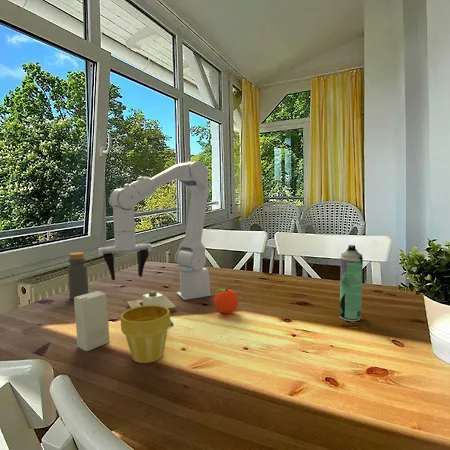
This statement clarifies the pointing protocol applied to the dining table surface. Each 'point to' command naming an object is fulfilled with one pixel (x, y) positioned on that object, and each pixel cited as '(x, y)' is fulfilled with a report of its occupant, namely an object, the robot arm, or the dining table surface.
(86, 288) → the bottle
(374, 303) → the dining table surface
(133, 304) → the holder
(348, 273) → the spray can
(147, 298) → the plug
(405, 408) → the dining table surface
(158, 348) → the plant pot
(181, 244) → the robot arm
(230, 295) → the clementine
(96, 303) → the skincare box
